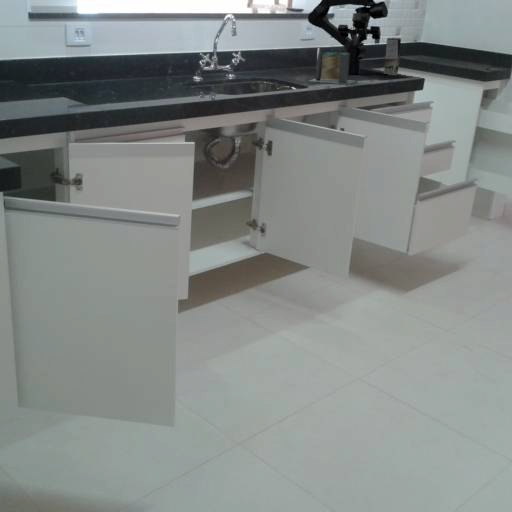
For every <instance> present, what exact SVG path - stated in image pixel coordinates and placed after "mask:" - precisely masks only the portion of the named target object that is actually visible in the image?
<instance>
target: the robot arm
mask: <svg viewBox="0 0 512 512" xmlns="http://www.w3.org/2000/svg"><path fill="white" fill-rule="evenodd" d="M347 5H353V6H359V7H356V8H355V9H354V11H355V12H356V13H355V12H354V13H352V17H351V21H352V26H351V27H350V28H349V24H339V25H338V27H337V26H335V25H334V24H333V23H332V22H330V20H329V18H328V14H329V11H330V9H331V7H337V6H347ZM388 14H389V10H388V7H387V5H386V2H385V0H384V1H379V2H375V0H321V1H320V2H319V3H318V4H317V6H315V7H314V8H313V10H312V11H310V12H309V13H308V15H307V20H308V21H307V22H308V23H309V24H310V25H312V26H314V27H316V28H319V29H321V30H323V31H325V33H327V34H328V35H329V36H331V37H332V38H333V39H334V40H336V42H338V43H339V44H341V46H343V48H344V49H345V51H346V53H350V60H349V75H350V76H351V75H362V72H360V64H361V63H360V61H361V60H363V57H364V56H365V55H366V53H367V47H366V46H365V43H364V41H367V40H368V35H371V39H372V40H380V39H381V35H382V34H381V27H380V26H377V25H375V26H374V25H371V26H369V24H370V23H369V22H370V19H371V18H372V19H373V20H379V19H382V18H383V19H384V18H387V17H388ZM368 27H370V28H368ZM349 36H350V37H349Z"/></svg>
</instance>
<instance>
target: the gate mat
mask: <svg viewBox="0 0 512 512" xmlns="http://www.w3.org/2000/svg"><path fill="white" fill-rule="evenodd" d="M308 82H309V83H317V82H319V84H329V83H334V84H333V85H342V84H345V83H339V80H327V79H321V80H320V81H316V77H315V78H313V79H310V80H308ZM355 82H356V83H357V80H353V79H351V80H350V79H348V80H347V83H346V84H351V85H353V84H355Z"/></svg>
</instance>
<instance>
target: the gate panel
mask: <svg viewBox="0 0 512 512" xmlns="http://www.w3.org/2000/svg"><path fill="white" fill-rule="evenodd" d="M340 55H349V57H348V72H347V80H349V75H350V74H349V60H350V53H347V52H322V61H321V79H327V80H339V69H340Z"/></svg>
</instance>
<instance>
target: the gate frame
mask: <svg viewBox="0 0 512 512" xmlns="http://www.w3.org/2000/svg"><path fill="white" fill-rule="evenodd" d="M322 55H323V47H317V51H316V70H315V73H316V74H315V78H316V81H320V80H321V73H322ZM348 57H349V55H340V69H339V83H345V84H346V83H347V72H348Z"/></svg>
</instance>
